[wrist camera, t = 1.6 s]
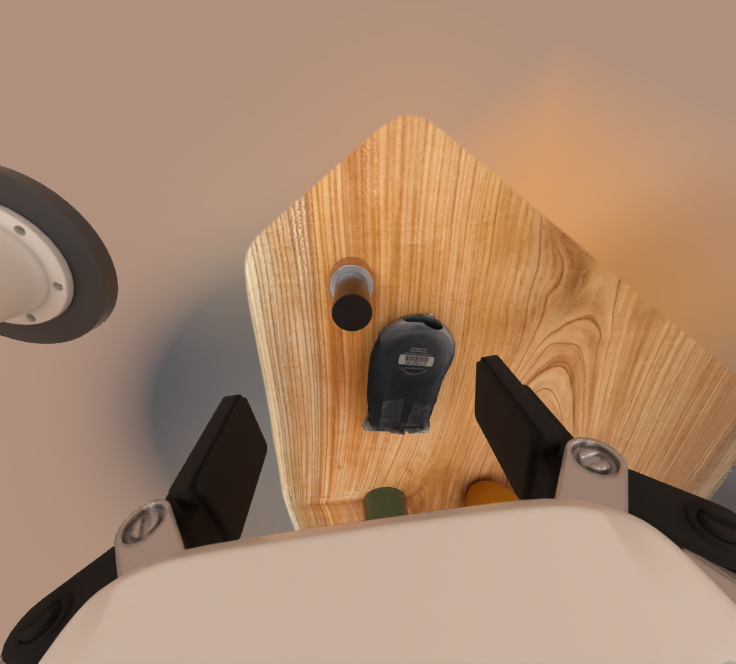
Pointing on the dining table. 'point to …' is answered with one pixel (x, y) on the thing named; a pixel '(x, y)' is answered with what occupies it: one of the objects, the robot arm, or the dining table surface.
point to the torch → (351, 293)
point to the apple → (488, 494)
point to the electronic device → (407, 374)
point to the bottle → (384, 504)
